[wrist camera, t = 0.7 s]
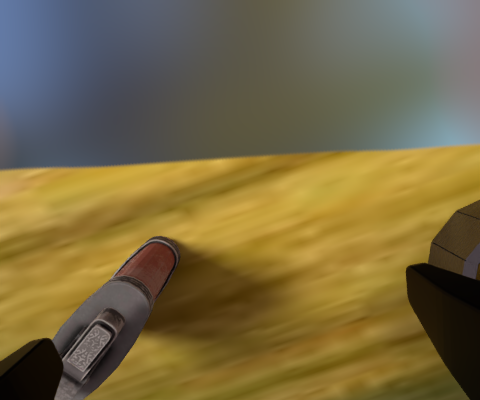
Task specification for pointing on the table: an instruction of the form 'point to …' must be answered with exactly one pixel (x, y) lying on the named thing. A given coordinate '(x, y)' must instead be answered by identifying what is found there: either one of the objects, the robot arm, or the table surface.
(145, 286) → the lighter
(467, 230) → the cup bracket
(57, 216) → the table surface
